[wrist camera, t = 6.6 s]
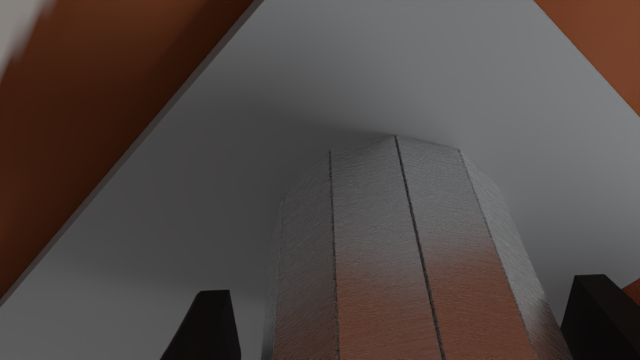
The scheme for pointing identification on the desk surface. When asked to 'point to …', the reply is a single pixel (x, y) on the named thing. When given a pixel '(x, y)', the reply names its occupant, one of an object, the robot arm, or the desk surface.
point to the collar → (402, 263)
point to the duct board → (325, 135)
